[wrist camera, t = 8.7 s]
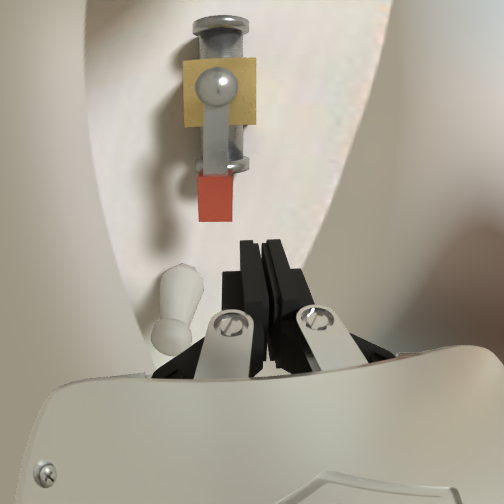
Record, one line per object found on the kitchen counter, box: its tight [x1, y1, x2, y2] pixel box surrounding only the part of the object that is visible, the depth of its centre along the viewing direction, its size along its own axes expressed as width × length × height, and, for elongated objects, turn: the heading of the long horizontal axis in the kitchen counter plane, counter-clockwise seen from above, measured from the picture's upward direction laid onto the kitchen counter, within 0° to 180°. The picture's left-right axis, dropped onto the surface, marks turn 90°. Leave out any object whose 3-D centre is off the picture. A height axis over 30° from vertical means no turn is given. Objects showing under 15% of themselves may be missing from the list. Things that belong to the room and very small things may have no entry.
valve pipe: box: [183, 15, 256, 173], centre depth 23 cm, size 16×6×9 cm, turn 0°
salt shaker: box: [151, 263, 204, 356], centre depth 32 cm, size 6×6×13 cm
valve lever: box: [195, 67, 238, 222], centre depth 20 cm, size 12×3×3 cm, turn 178°
